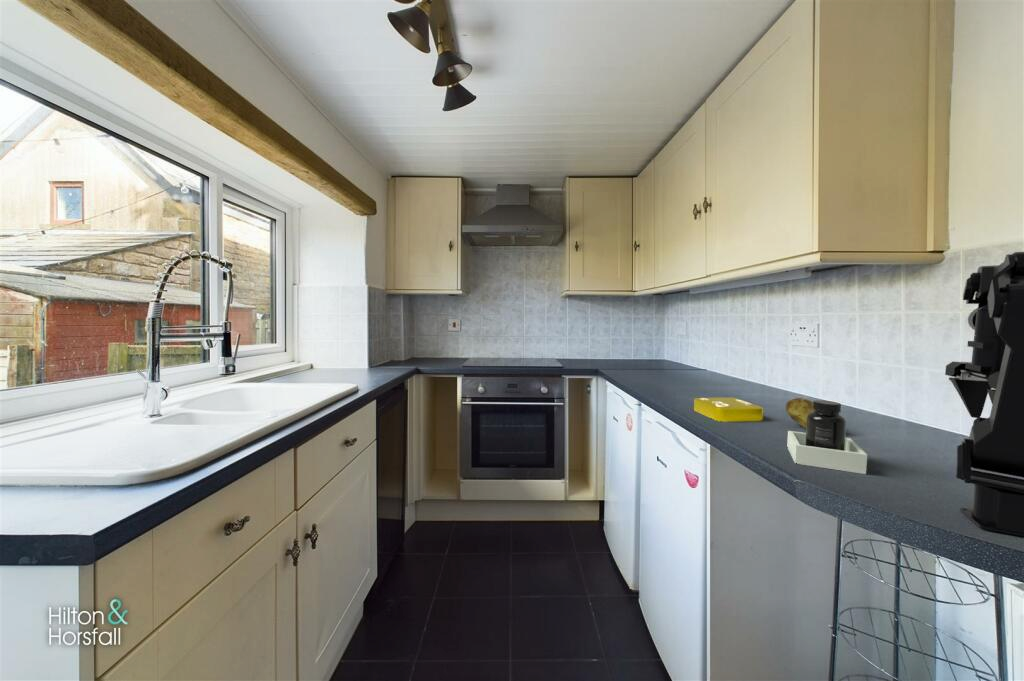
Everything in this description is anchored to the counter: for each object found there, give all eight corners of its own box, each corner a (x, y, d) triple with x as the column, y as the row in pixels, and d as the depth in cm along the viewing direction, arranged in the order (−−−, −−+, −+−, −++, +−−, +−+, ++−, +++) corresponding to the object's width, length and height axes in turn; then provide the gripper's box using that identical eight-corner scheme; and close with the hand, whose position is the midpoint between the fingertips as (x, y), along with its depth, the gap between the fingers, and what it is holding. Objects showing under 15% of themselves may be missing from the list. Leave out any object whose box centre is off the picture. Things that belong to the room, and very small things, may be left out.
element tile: (765, 422, 119) (766, 406, 118) (718, 423, 117) (719, 407, 117) (733, 409, 134) (734, 395, 133) (691, 410, 132) (691, 396, 132)
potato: (818, 436, 104) (820, 406, 103) (779, 422, 117) (780, 396, 116) (846, 435, 105) (848, 406, 104) (804, 422, 118) (805, 395, 117)
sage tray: (865, 474, 80) (867, 455, 80) (795, 463, 86) (796, 445, 85) (849, 455, 91) (850, 438, 90) (787, 446, 96) (788, 430, 96)
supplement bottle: (852, 459, 85) (855, 405, 84) (827, 462, 83) (831, 406, 82) (820, 448, 92) (823, 398, 91) (797, 451, 90) (800, 399, 89)
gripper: (1119, 342, 57) (1106, 447, 59) (1030, 335, 74) (1021, 417, 75) (1007, 339, 63) (997, 435, 64) (947, 333, 79) (940, 410, 80)
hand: (990, 423), depth 71 cm, fingers open, 9 cm apart
